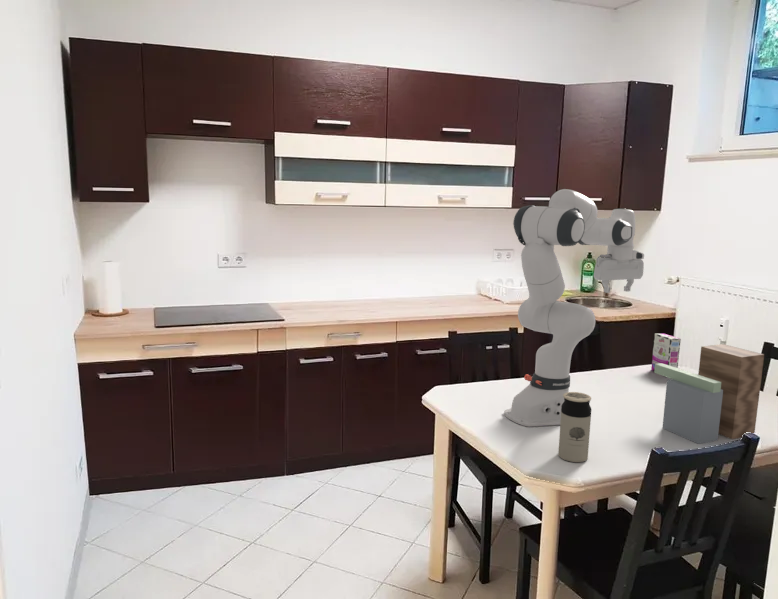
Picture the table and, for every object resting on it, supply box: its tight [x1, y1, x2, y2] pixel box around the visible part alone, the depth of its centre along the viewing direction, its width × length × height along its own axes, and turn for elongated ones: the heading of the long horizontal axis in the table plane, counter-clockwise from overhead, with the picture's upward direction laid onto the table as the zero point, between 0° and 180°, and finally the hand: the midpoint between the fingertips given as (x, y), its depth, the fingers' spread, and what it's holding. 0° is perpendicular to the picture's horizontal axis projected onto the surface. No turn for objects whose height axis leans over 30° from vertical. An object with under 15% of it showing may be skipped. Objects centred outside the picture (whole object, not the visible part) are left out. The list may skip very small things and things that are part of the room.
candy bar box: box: [650, 333, 682, 372], centre depth 250 cm, size 11×5×16 cm, turn 10°
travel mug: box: [557, 391, 592, 463], centre depth 165 cm, size 8×8×18 cm
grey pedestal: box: [661, 378, 723, 445], centre depth 184 cm, size 8×14×16 cm, turn 23°
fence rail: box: [653, 363, 721, 393], centre depth 185 cm, size 3×22×3 cm, turn 23°
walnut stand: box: [697, 343, 765, 440], centre depth 188 cm, size 10×14×26 cm
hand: (617, 291), depth 216 cm, fingers open, 8 cm apart
